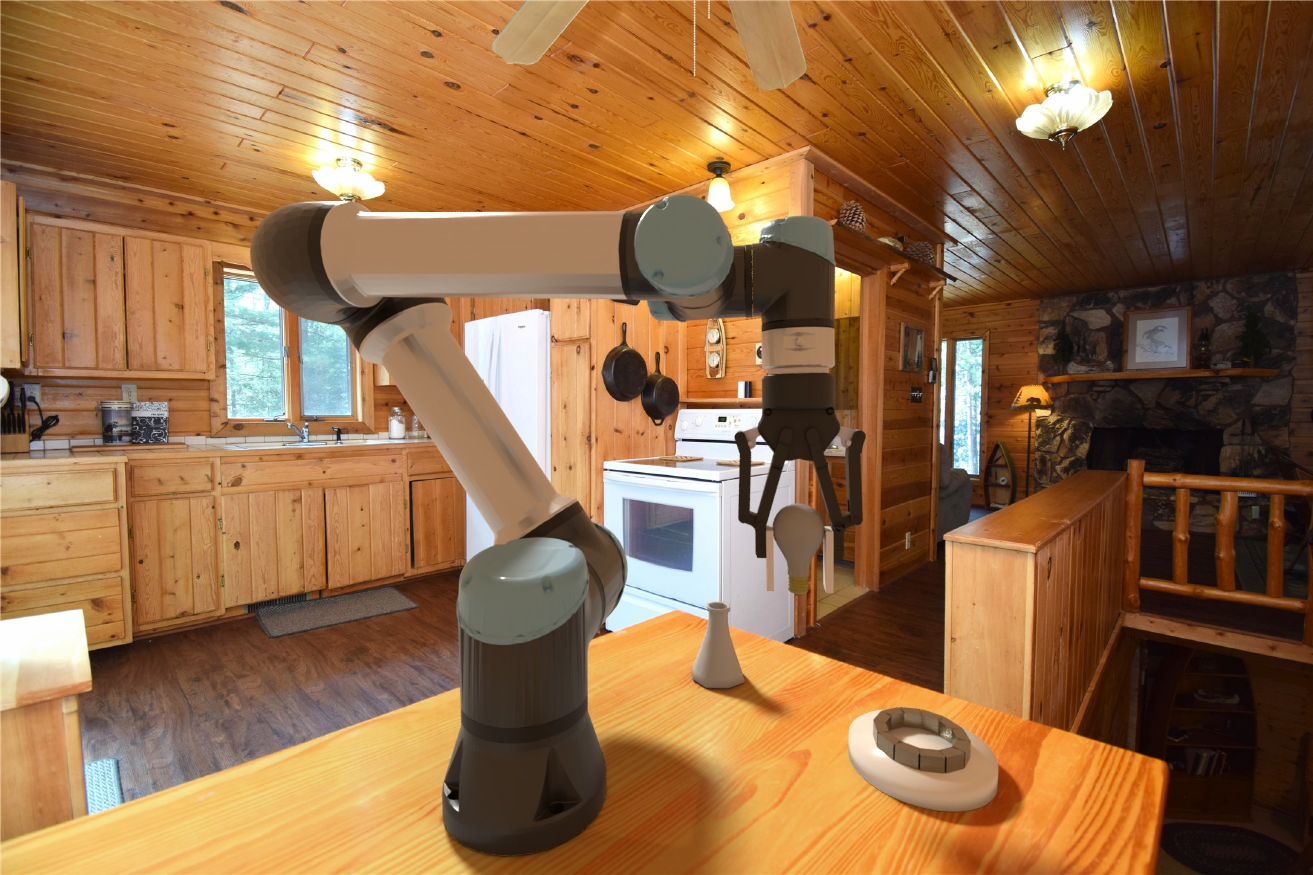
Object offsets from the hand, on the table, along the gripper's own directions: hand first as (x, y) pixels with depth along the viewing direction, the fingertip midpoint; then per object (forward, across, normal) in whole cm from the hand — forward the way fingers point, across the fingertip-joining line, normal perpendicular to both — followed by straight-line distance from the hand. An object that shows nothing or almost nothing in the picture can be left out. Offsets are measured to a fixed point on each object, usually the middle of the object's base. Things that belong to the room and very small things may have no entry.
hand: (798, 587), depth 63 cm
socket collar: (+16, +12, -2) cm, 20 cm away
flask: (+17, -10, +13) cm, 24 cm away
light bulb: (+1, 0, 0) cm, 1 cm away
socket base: (+18, +12, -2) cm, 21 cm away
